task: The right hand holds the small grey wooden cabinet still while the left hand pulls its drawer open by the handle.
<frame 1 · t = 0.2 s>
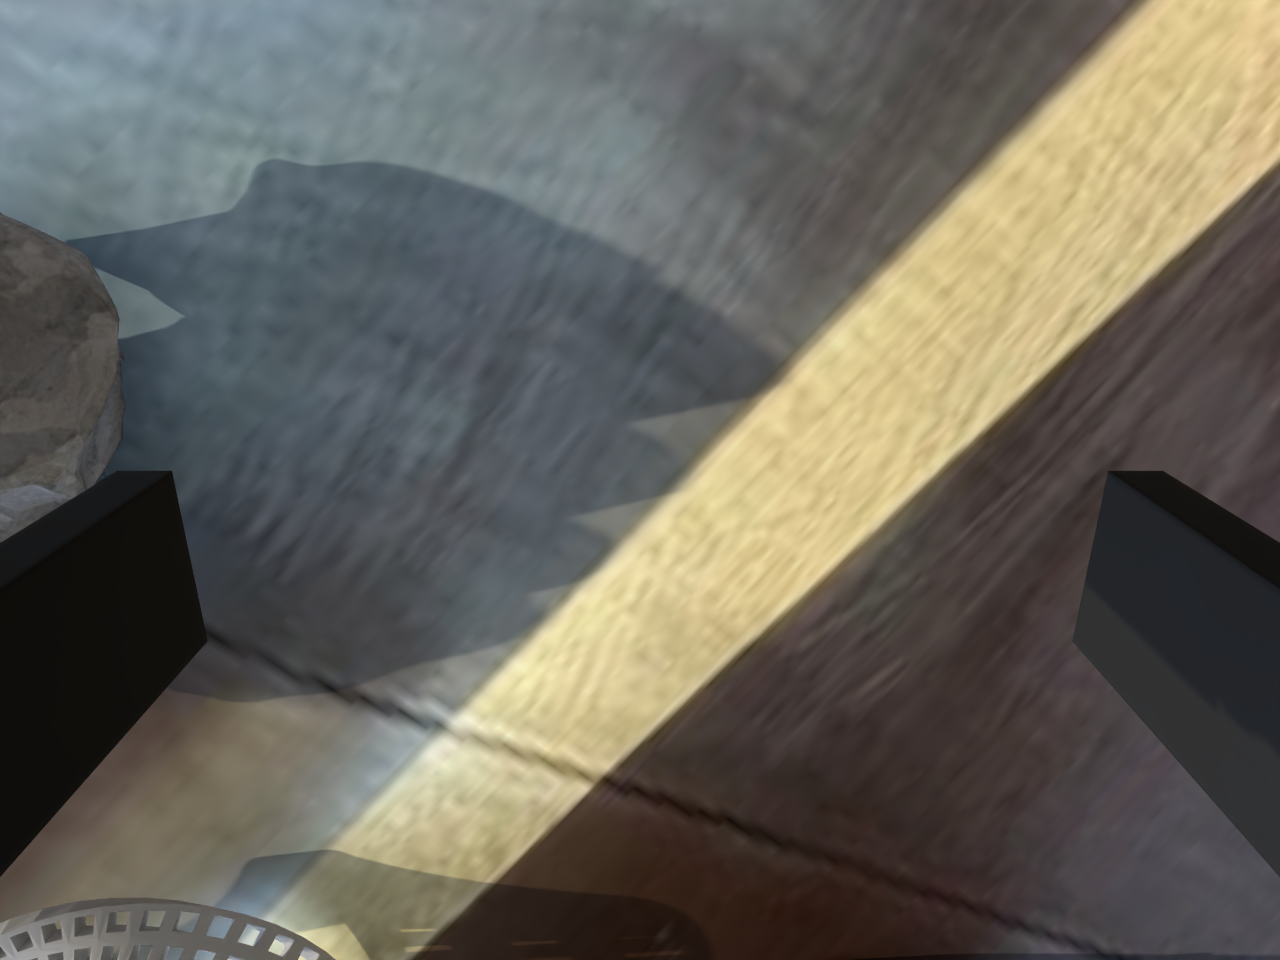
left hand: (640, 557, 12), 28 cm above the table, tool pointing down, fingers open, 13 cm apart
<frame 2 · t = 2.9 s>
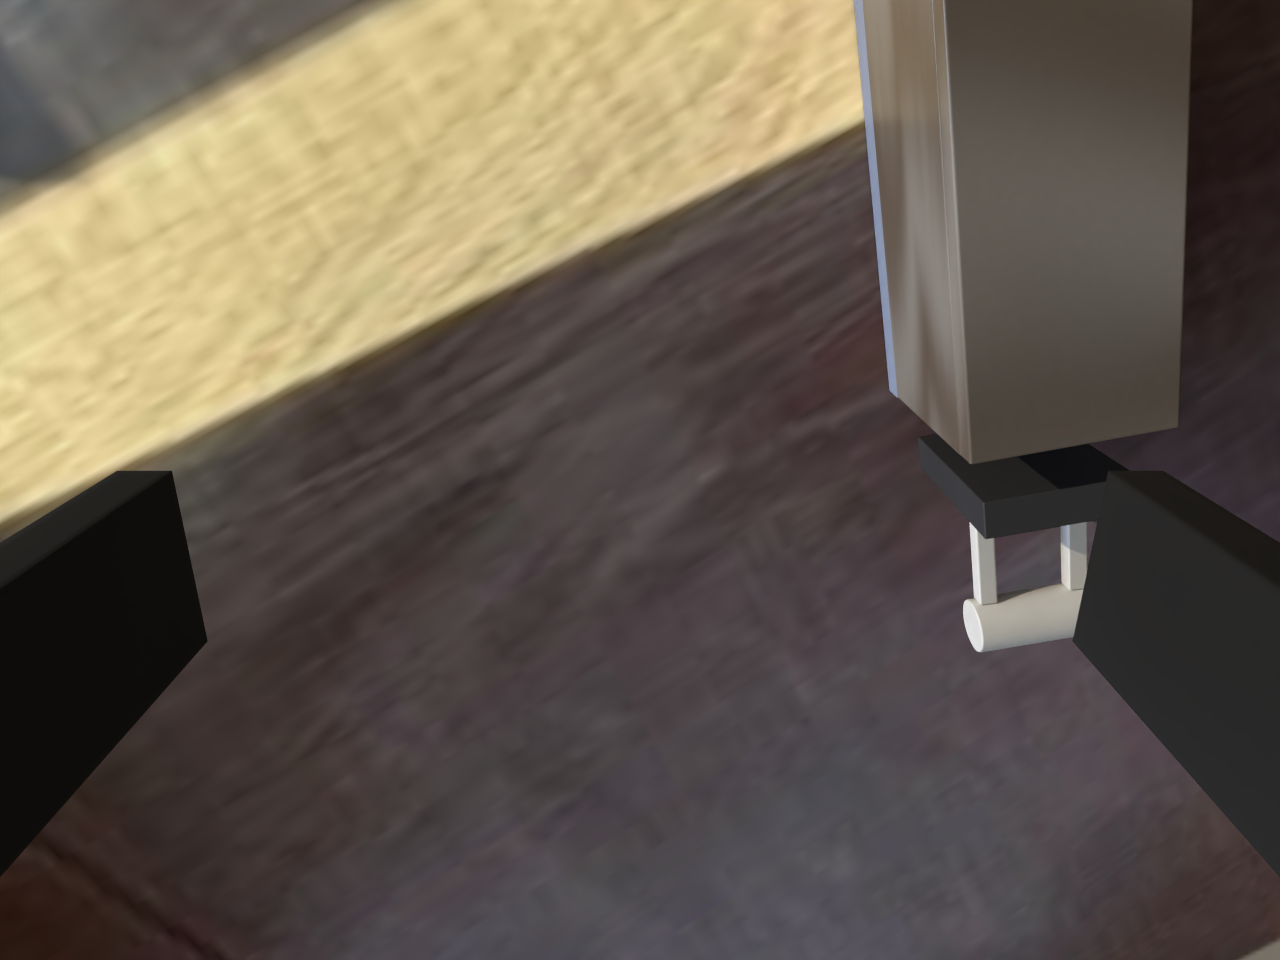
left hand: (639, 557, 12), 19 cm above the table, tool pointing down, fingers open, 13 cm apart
cabinet: (951, 76, 27), on the table
drawer: (1009, 283, 25), point 4 cm above the table, slide at 1.6 cm
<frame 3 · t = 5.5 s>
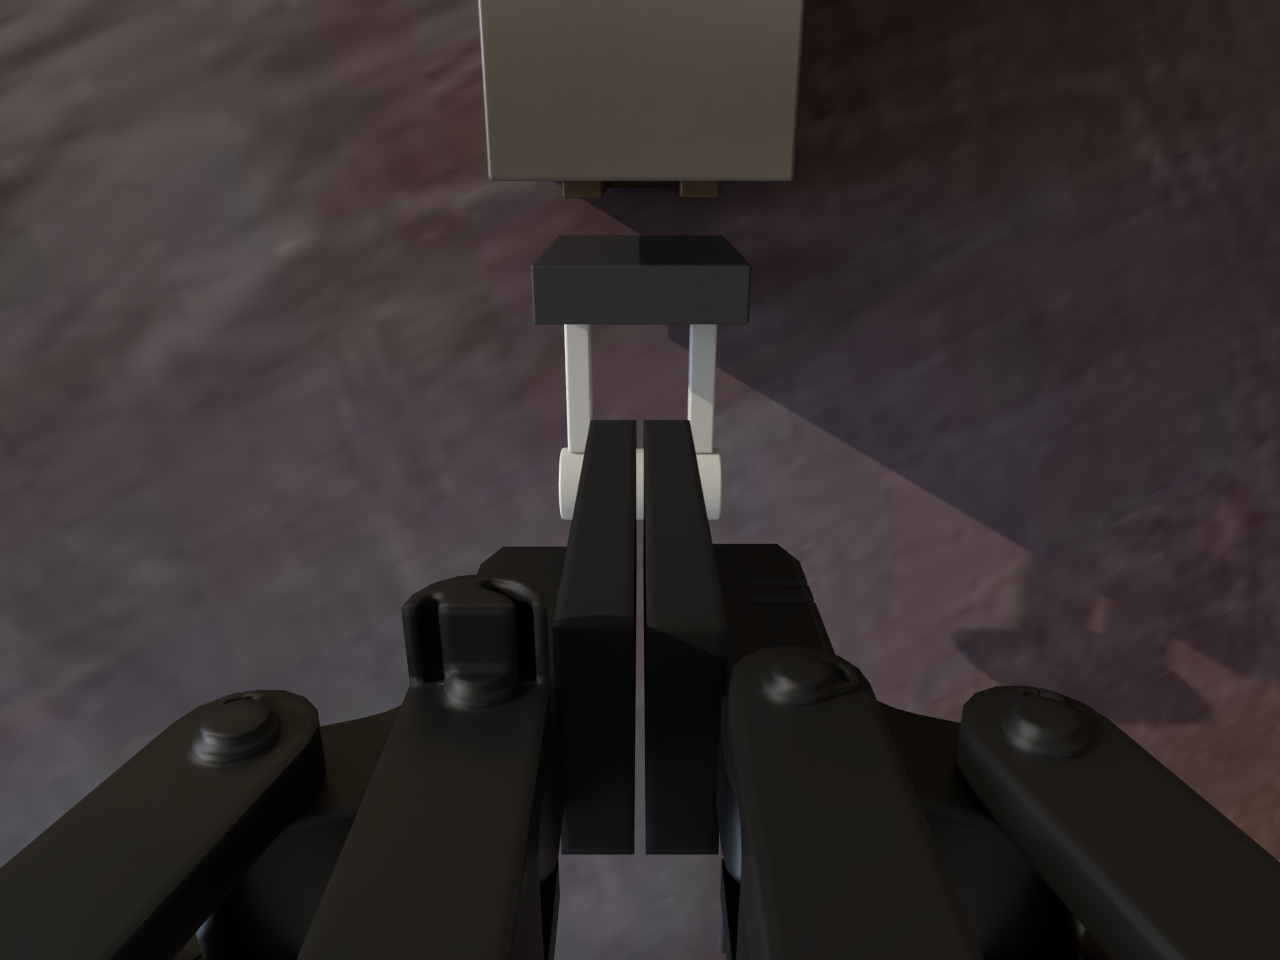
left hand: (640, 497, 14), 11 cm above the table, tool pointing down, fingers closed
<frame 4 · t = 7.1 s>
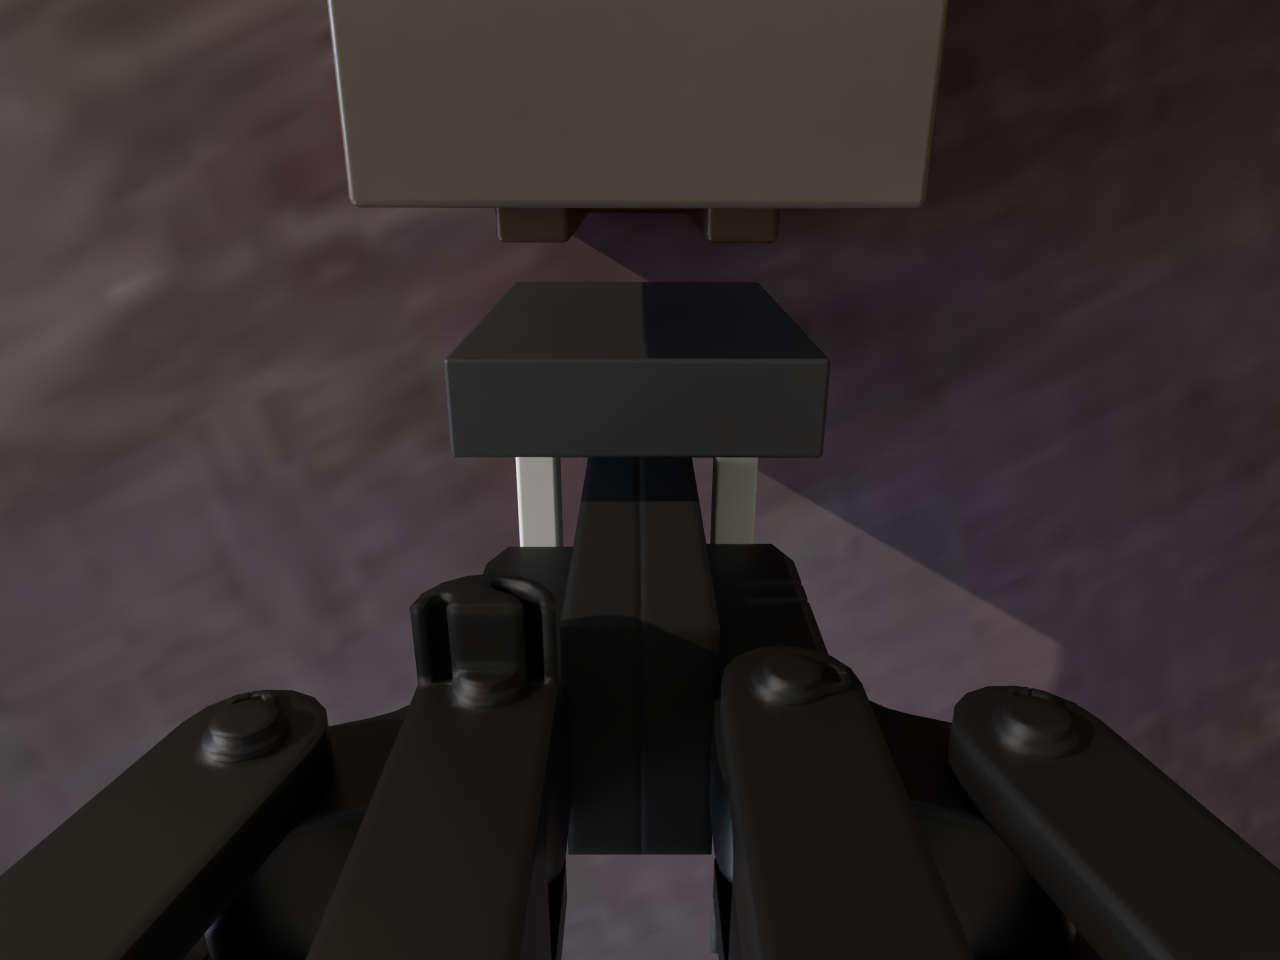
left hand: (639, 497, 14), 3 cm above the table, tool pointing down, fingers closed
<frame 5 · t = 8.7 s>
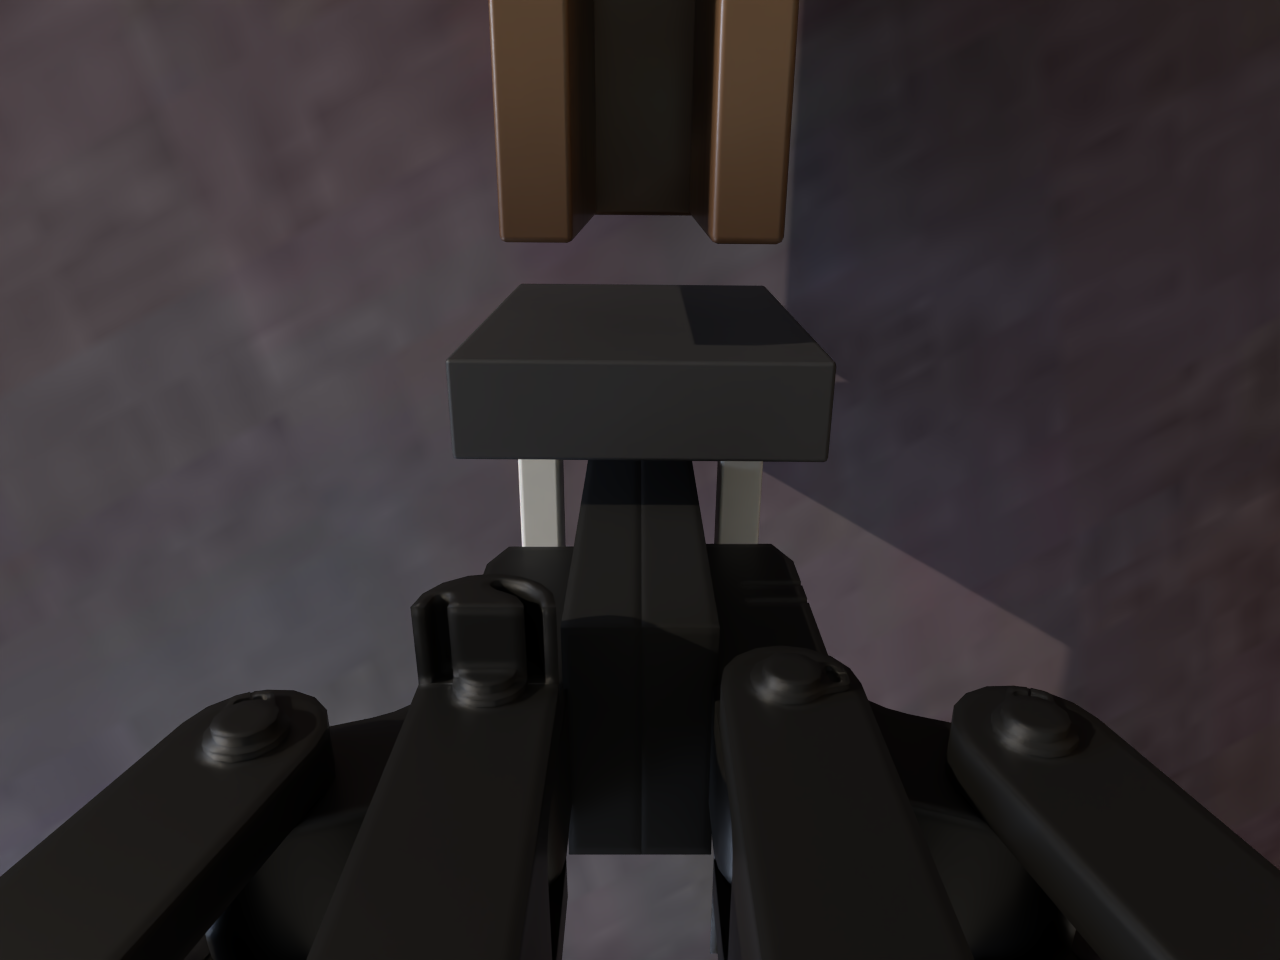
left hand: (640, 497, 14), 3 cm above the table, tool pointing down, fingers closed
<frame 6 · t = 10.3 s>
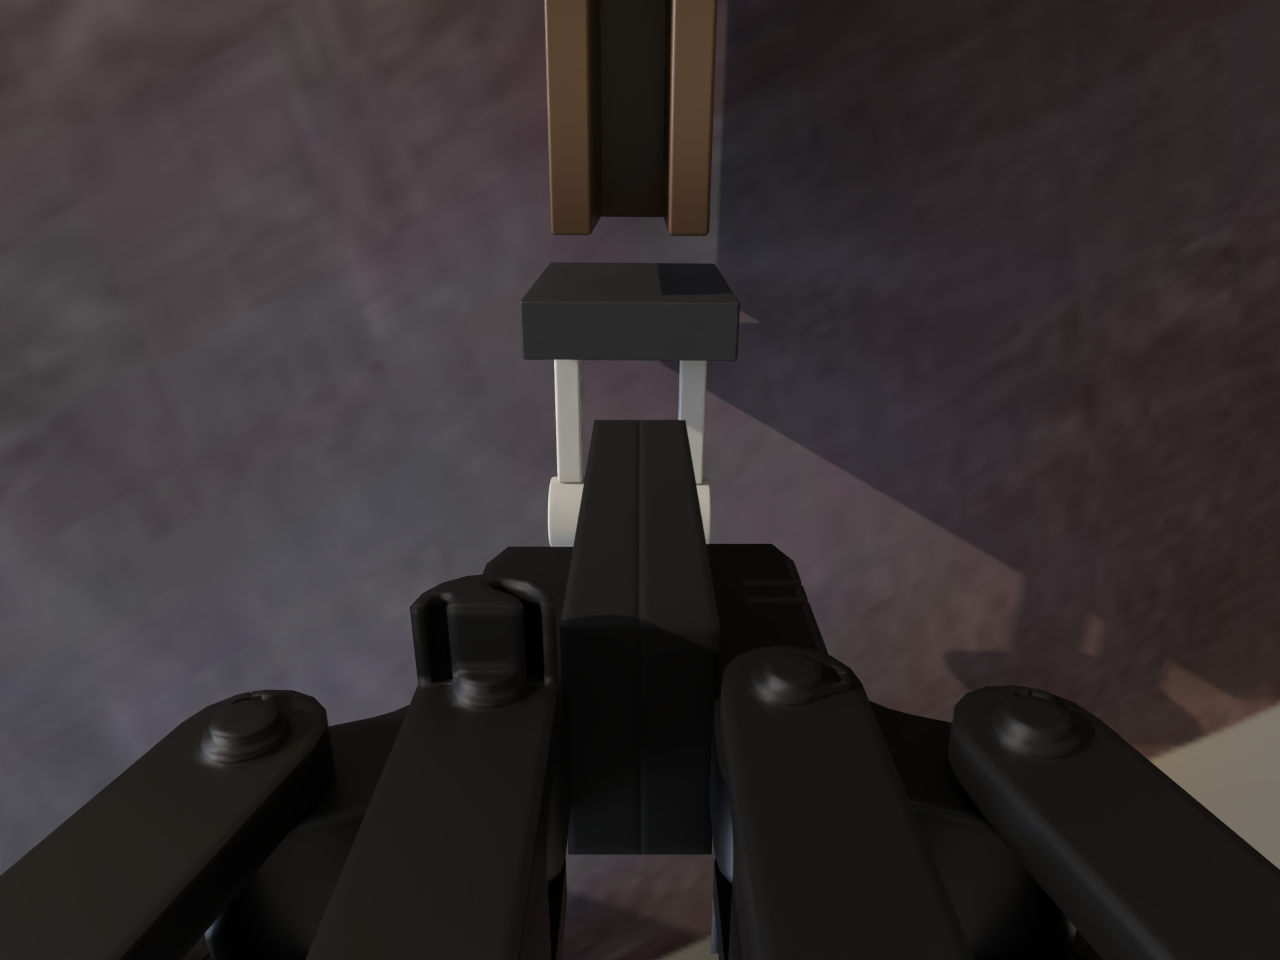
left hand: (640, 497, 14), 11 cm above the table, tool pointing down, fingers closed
drawer: (632, 13, 18), point 4 cm above the table, slide at 10.5 cm
when the right hand's fingers open (6 cm above the table, at t = 10.3 s): cabinet stays where it is, on the table.
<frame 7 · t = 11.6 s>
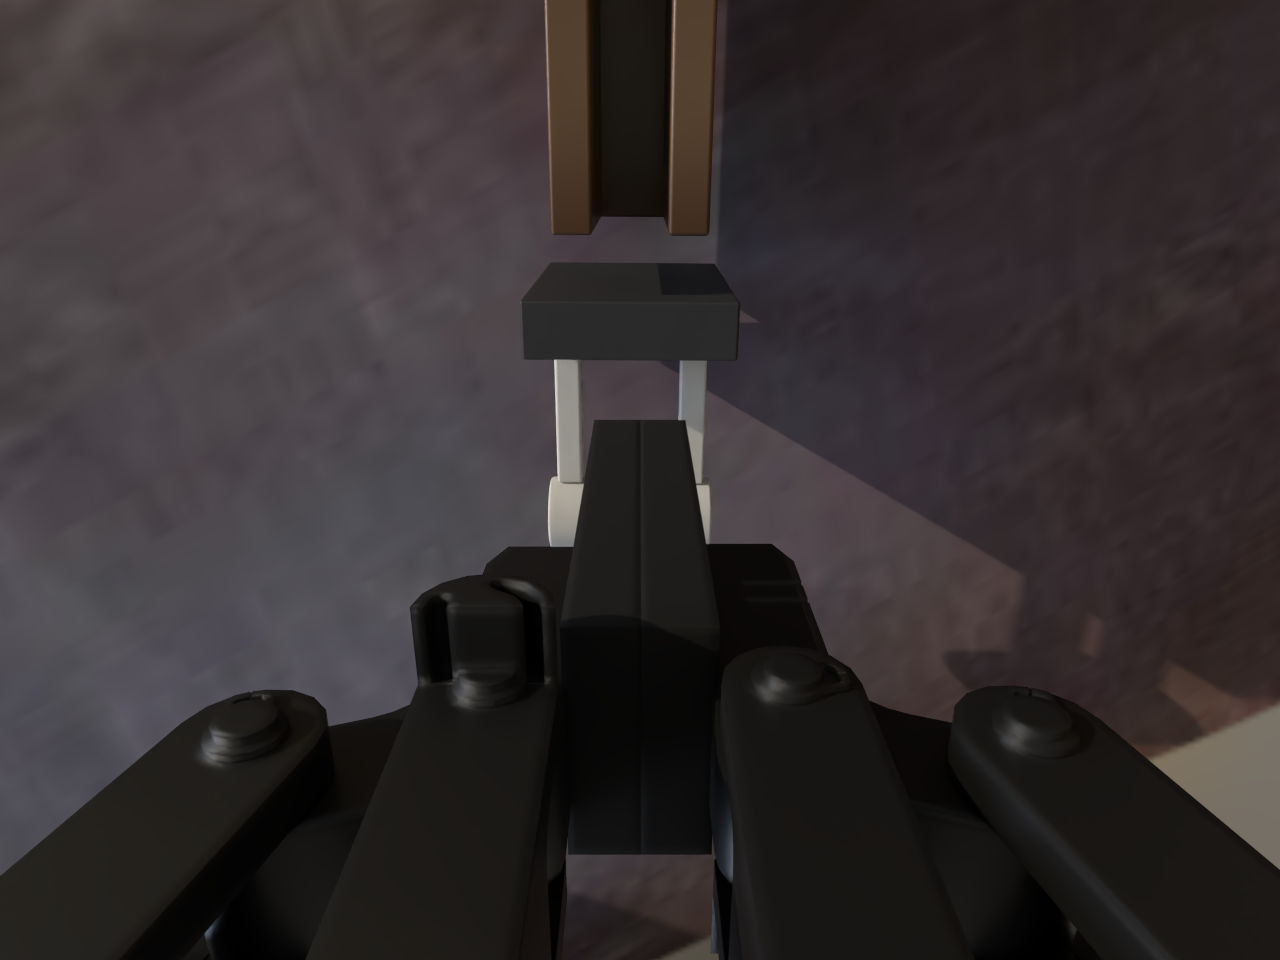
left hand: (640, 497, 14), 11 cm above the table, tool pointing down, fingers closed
drawer: (632, 13, 18), point 4 cm above the table, slide at 10.5 cm
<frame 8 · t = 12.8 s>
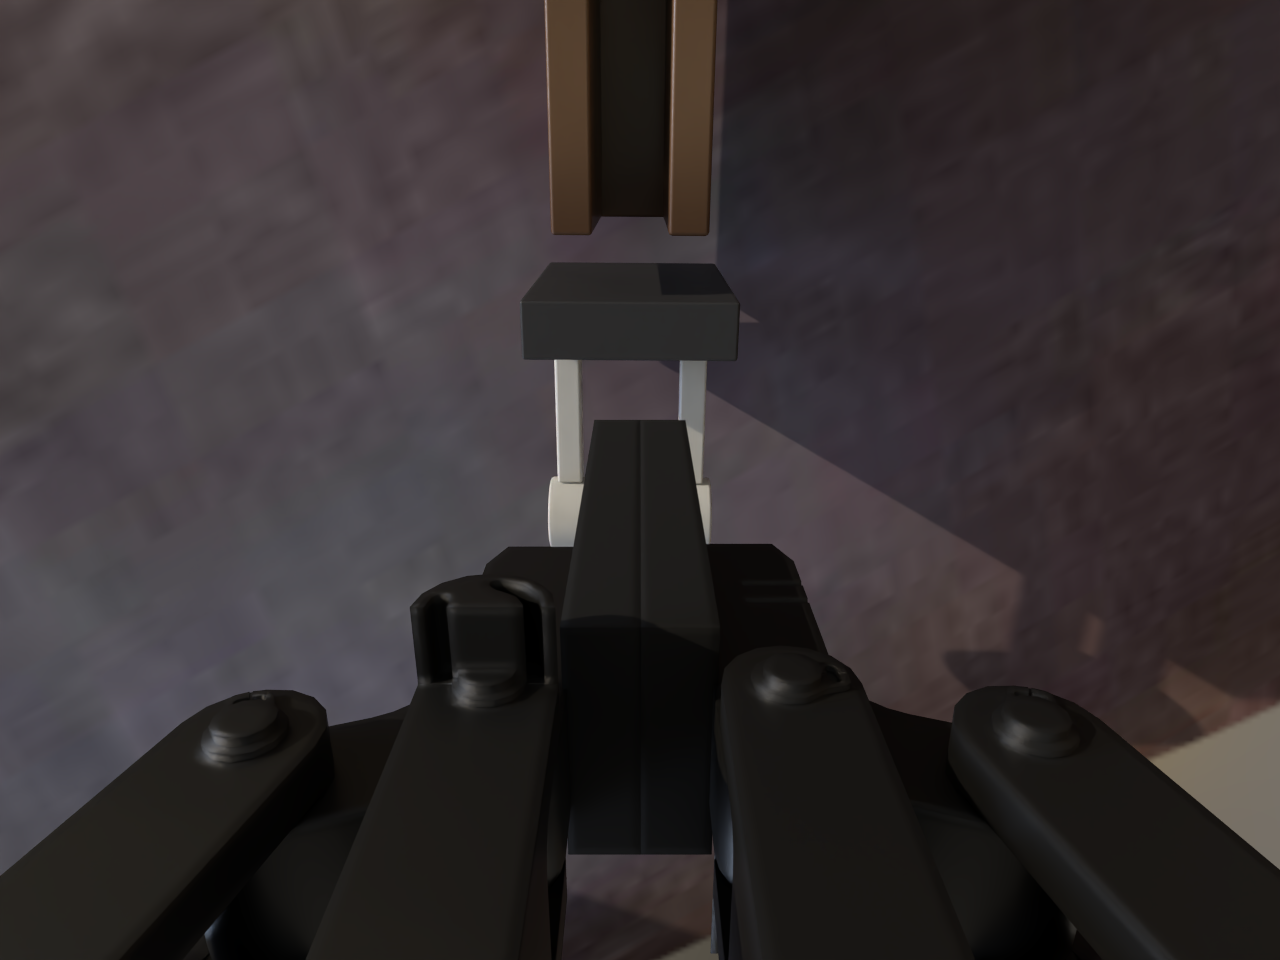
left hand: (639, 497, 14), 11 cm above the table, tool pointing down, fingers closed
drawer: (632, 13, 18), point 4 cm above the table, slide at 10.5 cm
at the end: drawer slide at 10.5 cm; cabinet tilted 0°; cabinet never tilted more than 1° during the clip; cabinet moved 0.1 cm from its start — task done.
